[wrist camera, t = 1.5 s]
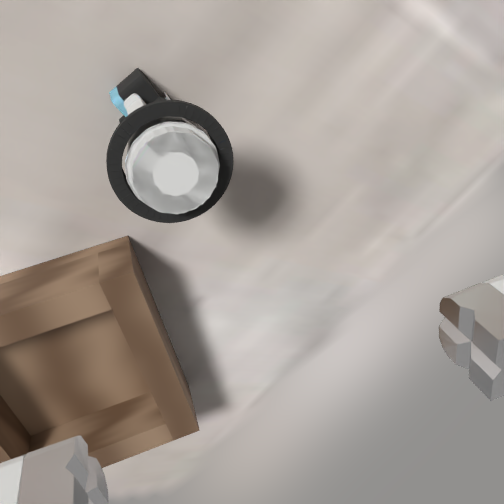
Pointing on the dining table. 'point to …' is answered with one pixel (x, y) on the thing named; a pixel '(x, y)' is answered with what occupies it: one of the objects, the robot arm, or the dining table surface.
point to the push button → (166, 154)
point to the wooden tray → (88, 358)
